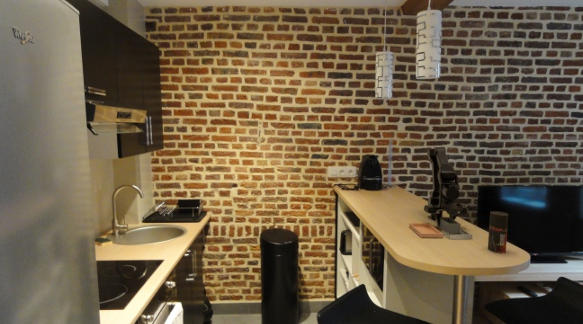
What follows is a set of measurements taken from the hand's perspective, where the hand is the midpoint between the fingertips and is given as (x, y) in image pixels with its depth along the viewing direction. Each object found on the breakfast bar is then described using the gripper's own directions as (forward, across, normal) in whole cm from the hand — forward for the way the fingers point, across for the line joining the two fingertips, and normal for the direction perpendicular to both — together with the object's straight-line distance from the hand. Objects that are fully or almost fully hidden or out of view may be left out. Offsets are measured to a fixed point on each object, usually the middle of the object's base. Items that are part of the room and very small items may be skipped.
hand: (444, 226), depth 143 cm
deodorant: (+1, +8, -27) cm, 28 cm away
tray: (+1, -12, -7) cm, 14 cm away
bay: (+1, 0, -11) cm, 11 cm away
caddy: (+1, 0, -4) cm, 4 cm away
